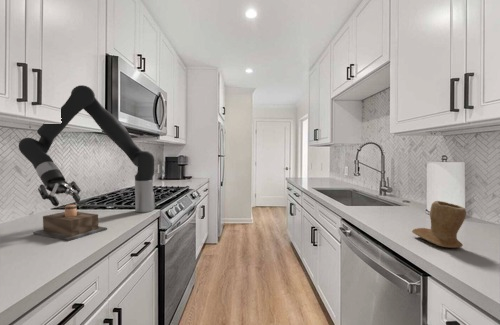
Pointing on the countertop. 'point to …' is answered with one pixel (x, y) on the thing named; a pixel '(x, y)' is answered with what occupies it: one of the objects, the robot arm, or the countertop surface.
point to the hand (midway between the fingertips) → (68, 203)
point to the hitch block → (69, 226)
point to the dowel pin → (70, 210)
